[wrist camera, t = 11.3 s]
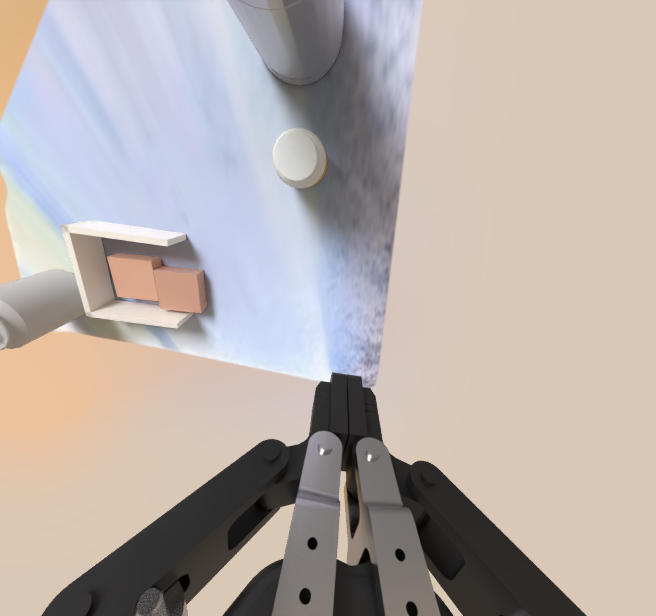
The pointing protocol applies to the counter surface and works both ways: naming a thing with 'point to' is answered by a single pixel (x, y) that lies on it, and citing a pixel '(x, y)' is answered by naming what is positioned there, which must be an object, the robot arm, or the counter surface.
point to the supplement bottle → (299, 158)
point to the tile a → (134, 275)
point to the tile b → (181, 289)
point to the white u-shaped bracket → (96, 278)
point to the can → (37, 306)
